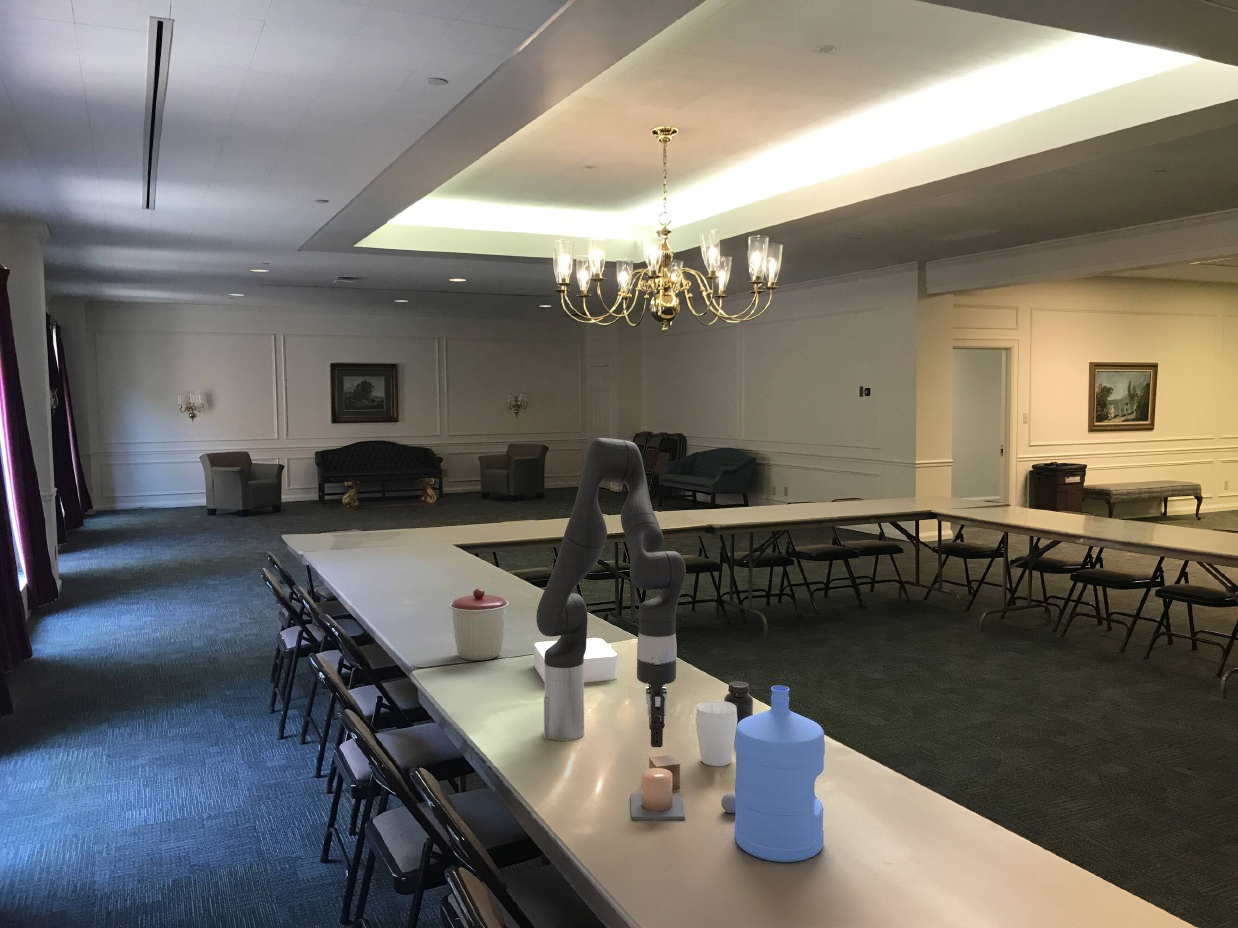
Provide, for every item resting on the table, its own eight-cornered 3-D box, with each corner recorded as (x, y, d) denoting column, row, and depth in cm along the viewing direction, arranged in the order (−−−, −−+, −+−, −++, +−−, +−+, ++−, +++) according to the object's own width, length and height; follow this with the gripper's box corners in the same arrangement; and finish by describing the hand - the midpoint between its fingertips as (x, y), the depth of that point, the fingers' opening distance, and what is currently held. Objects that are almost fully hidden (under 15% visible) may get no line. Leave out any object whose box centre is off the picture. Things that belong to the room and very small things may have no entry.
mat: (631, 819, 171) (631, 816, 171) (630, 796, 181) (630, 793, 181) (684, 819, 171) (684, 816, 171) (681, 796, 181) (681, 793, 181)
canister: (443, 652, 285) (442, 585, 284) (499, 645, 293) (498, 580, 291) (458, 667, 269) (457, 597, 268) (517, 660, 277) (516, 591, 275)
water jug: (765, 872, 152) (766, 707, 150) (718, 831, 166) (719, 681, 164) (841, 853, 158) (844, 695, 156) (790, 815, 173) (792, 670, 171)
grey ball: (722, 816, 172) (722, 797, 172) (720, 807, 176) (720, 789, 176) (741, 816, 172) (741, 797, 172) (738, 807, 176) (739, 789, 176)
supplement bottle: (751, 740, 211) (752, 689, 210) (722, 737, 212) (722, 687, 212) (753, 729, 218) (754, 680, 217) (724, 727, 219) (725, 678, 218)
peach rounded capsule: (641, 811, 173) (641, 780, 173) (641, 797, 179) (640, 768, 179) (673, 811, 173) (673, 780, 173) (671, 797, 179) (671, 767, 179)
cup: (710, 771, 193) (710, 716, 192) (687, 757, 201) (687, 703, 200) (745, 763, 197) (745, 709, 196) (721, 749, 205) (722, 697, 204)
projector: (624, 679, 258) (624, 655, 258) (546, 686, 252) (546, 661, 252) (605, 659, 278) (605, 637, 278) (533, 665, 272) (532, 642, 272)
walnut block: (656, 790, 184) (656, 766, 184) (649, 780, 189) (649, 757, 189) (679, 787, 185) (679, 763, 185) (671, 778, 190) (672, 754, 190)
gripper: (636, 644, 181) (635, 724, 182) (637, 666, 167) (636, 752, 168) (674, 645, 181) (673, 724, 182) (678, 666, 167) (677, 752, 168)
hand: (655, 737), depth 175 cm, fingers open, 8 cm apart
